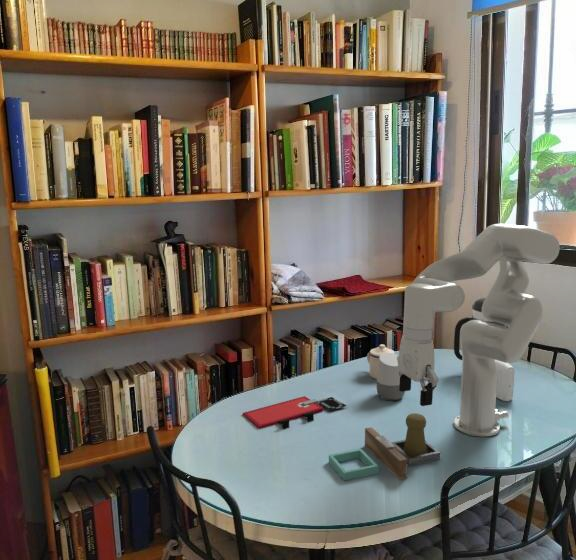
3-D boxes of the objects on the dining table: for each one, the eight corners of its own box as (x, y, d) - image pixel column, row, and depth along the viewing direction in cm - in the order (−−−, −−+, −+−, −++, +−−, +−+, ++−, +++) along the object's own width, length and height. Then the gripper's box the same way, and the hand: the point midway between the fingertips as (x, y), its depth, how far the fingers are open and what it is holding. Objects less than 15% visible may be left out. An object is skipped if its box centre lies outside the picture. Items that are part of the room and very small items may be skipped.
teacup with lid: (399, 376, 198) (400, 345, 195) (381, 382, 193) (381, 350, 190) (376, 367, 207) (377, 337, 205) (358, 372, 202) (358, 342, 200)
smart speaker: (389, 405, 174) (390, 363, 171) (370, 395, 182) (371, 355, 179) (411, 398, 179) (412, 357, 176) (391, 389, 187) (392, 349, 184)
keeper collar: (420, 443, 150) (420, 436, 149) (440, 459, 141) (440, 452, 141) (390, 449, 147) (390, 442, 146) (409, 466, 138) (409, 459, 138)
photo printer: (514, 400, 176) (517, 363, 174) (504, 402, 175) (506, 365, 172) (491, 388, 186) (493, 354, 183) (481, 391, 184) (483, 355, 182)
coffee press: (475, 362, 211) (479, 285, 205) (516, 372, 200) (522, 292, 194) (451, 373, 200) (455, 293, 194) (493, 385, 188) (498, 300, 182)
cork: (427, 461, 140) (428, 421, 138) (403, 459, 142) (404, 419, 139) (426, 449, 146) (427, 411, 144) (403, 447, 147) (404, 409, 145)
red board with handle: (350, 410, 171) (323, 394, 184) (350, 402, 170) (323, 387, 183) (265, 436, 156) (242, 417, 169) (264, 426, 156) (242, 408, 169)
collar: (360, 455, 144) (361, 448, 143) (378, 473, 135) (378, 465, 135) (328, 462, 141) (328, 454, 140) (344, 480, 132) (344, 473, 132)
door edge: (371, 444, 150) (371, 425, 149) (406, 478, 133) (407, 457, 132) (364, 445, 149) (364, 427, 148) (399, 479, 132) (399, 459, 131)
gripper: (387, 325, 144) (385, 387, 147) (425, 344, 128) (421, 413, 131) (412, 323, 147) (409, 384, 150) (452, 341, 131) (448, 409, 134)
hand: (415, 397), depth 140 cm, fingers open, 9 cm apart
